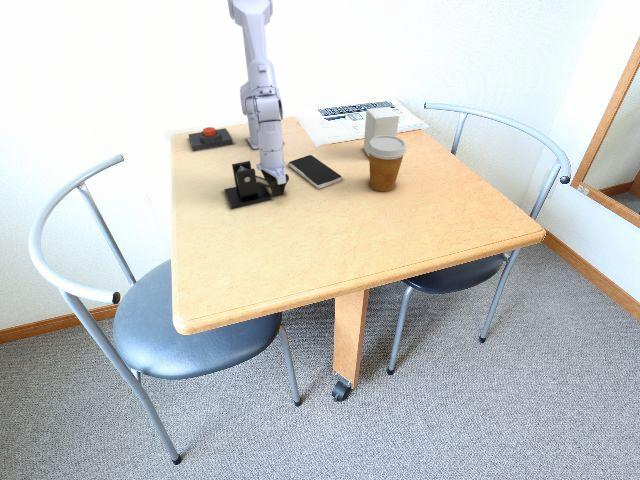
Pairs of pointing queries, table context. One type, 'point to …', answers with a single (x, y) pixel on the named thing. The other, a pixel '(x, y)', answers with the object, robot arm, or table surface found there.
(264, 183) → the lever
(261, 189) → the bracket
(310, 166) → the smartphone
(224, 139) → the button box
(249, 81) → the robot arm
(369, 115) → the white packaging box
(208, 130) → the button
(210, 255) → the table surface
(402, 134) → the table surface
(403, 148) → the disposable coffee cup
